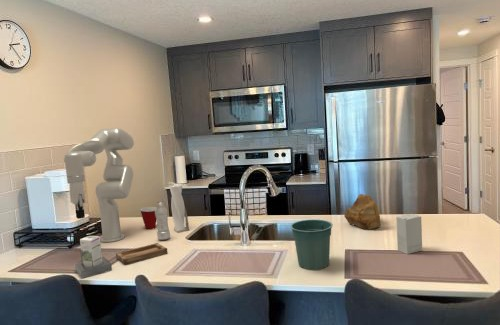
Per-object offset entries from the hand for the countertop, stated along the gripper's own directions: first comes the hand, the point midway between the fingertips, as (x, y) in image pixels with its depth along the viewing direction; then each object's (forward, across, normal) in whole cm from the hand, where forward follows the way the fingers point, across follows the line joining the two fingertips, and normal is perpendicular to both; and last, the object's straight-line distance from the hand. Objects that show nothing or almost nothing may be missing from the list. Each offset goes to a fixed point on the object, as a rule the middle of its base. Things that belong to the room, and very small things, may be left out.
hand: (80, 217), depth 180 cm
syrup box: (+19, +22, -2) cm, 30 cm away
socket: (+19, +22, -2) cm, 30 cm away
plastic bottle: (+19, +4, +38) cm, 43 cm away
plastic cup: (+19, -26, +42) cm, 53 cm away
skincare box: (+19, +102, +106) cm, 148 cm away
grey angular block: (+19, +9, 0) cm, 21 cm away
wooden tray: (+19, +20, +20) cm, 35 cm away
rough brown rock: (+19, +63, +124) cm, 141 cm away
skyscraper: (+19, -6, +52) cm, 56 cm away
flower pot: (+19, +84, +68) cm, 110 cm away
